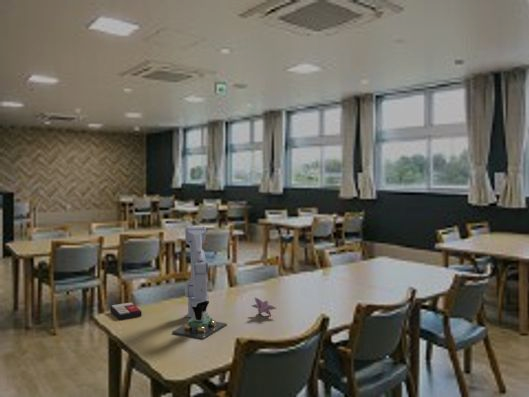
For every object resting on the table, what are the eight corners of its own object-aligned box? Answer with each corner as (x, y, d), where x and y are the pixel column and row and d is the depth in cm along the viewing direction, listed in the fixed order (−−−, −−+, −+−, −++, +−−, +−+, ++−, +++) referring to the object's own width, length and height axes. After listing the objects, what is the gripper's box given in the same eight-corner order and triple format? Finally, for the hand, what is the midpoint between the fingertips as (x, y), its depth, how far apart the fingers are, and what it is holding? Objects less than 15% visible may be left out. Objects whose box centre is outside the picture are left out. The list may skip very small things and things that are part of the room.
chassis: (197, 320, 215) (197, 312, 215) (226, 325, 209) (226, 317, 209) (172, 333, 197) (172, 324, 197) (203, 339, 191) (203, 330, 190)
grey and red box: (119, 313, 214) (110, 304, 227) (119, 322, 215) (110, 312, 227) (141, 309, 221) (131, 301, 233) (141, 318, 221) (131, 309, 233)
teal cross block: (195, 315, 209) (195, 307, 209) (213, 317, 207) (213, 308, 206) (185, 325, 199) (185, 316, 198) (204, 327, 197) (204, 318, 196)
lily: (278, 321, 219) (280, 301, 223) (260, 316, 212) (262, 295, 217) (261, 323, 227) (263, 304, 232) (244, 318, 220) (246, 298, 225)
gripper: (198, 284, 210) (198, 313, 211) (185, 291, 196) (185, 322, 197) (212, 285, 208) (212, 314, 209) (200, 293, 194) (200, 324, 195)
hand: (200, 318), depth 203 cm, fingers closed on teal cross block, 3 cm apart
